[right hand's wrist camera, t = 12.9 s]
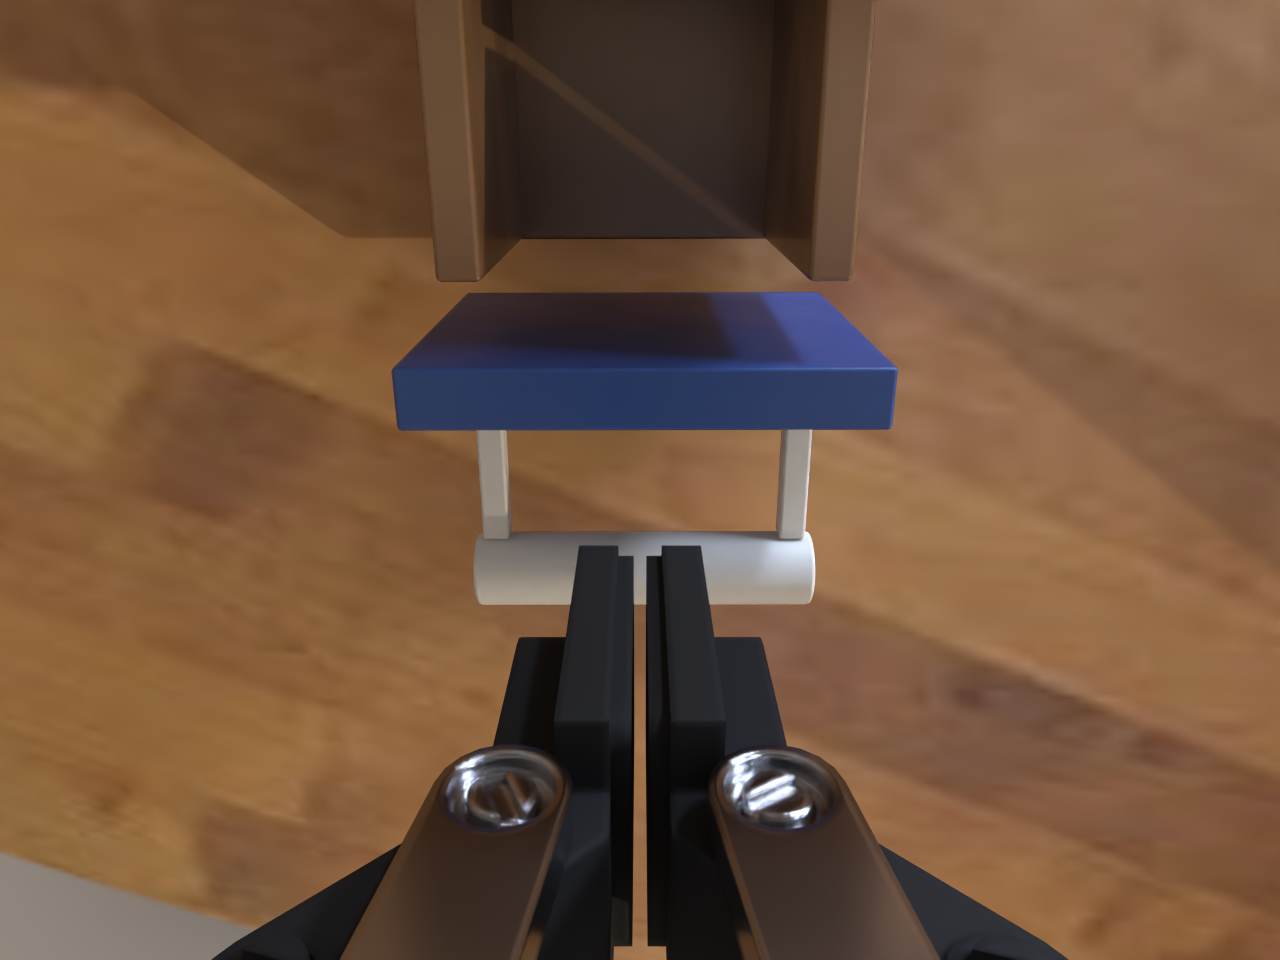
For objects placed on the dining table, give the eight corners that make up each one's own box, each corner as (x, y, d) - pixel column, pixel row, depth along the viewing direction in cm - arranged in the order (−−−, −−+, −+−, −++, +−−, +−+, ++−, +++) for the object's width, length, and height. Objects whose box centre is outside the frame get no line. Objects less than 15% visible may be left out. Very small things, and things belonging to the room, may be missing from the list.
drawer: (803, 522, 26) (866, 677, 19) (483, 523, 26) (422, 678, 19) (872, -460, 18) (1027, -846, 11) (412, -459, 18) (262, -843, 11)
